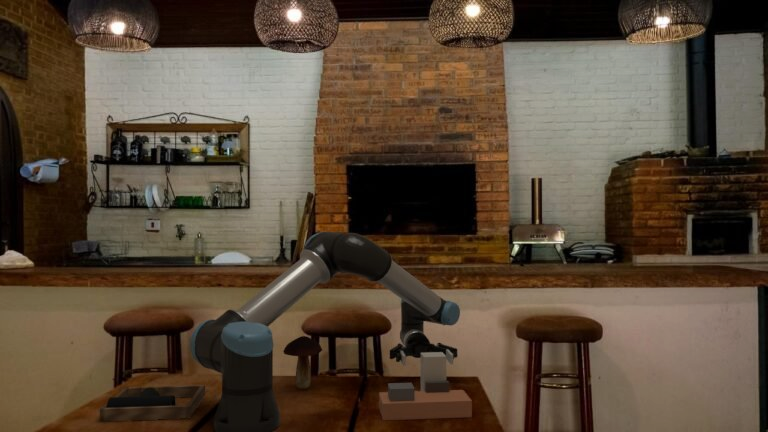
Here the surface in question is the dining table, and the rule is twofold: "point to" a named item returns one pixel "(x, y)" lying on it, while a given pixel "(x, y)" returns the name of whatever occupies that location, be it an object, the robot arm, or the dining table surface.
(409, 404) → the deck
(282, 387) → the dining table surface
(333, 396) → the dining table surface
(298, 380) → the decorative mushroom
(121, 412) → the frame
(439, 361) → the tall grey brick
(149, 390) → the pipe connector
